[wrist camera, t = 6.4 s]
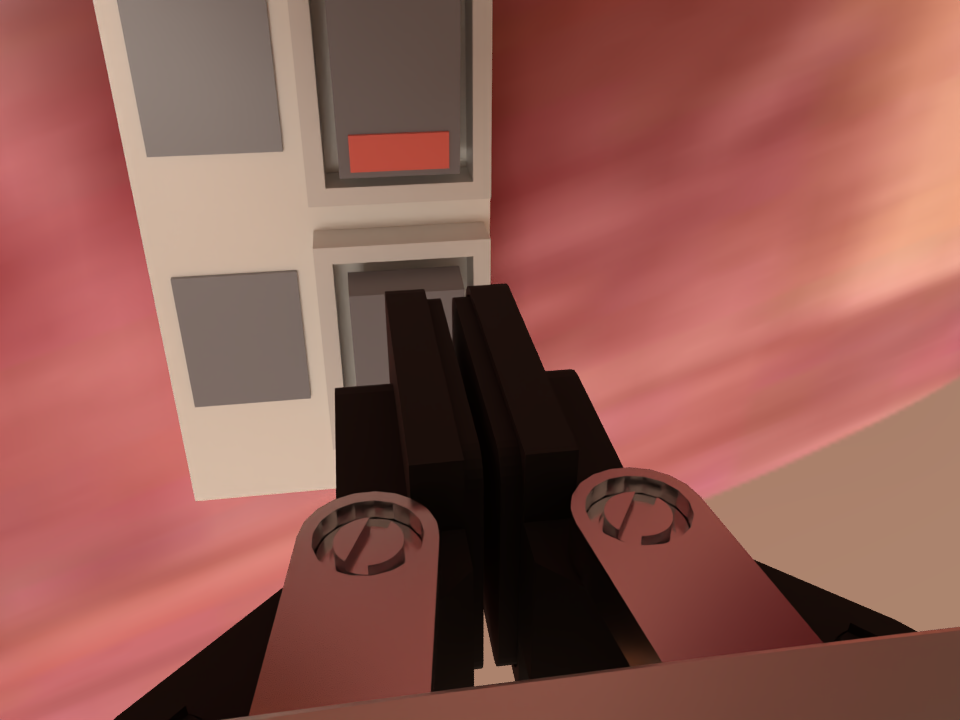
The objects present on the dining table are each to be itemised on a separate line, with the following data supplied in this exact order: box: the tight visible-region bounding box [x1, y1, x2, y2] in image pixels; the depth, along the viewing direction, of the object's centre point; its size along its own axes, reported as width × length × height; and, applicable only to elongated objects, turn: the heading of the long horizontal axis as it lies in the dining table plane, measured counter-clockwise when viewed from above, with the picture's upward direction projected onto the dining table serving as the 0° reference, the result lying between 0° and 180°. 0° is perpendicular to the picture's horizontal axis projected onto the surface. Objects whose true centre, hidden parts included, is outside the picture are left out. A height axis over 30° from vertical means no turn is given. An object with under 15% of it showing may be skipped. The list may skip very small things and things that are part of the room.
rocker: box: [348, 266, 465, 386], centre depth 26 cm, size 5×3×1 cm, turn 0°
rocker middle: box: [325, 0, 461, 179], centre depth 22 cm, size 5×3×1 cm, turn 0°
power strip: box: [93, 0, 492, 501], centre depth 24 cm, size 28×10×4 cm, turn 0°
